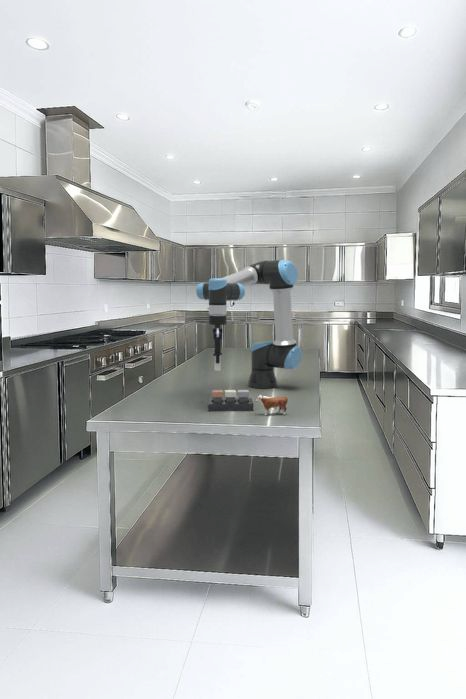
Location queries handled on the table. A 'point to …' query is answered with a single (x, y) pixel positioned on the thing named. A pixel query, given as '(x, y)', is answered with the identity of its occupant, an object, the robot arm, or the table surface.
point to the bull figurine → (272, 403)
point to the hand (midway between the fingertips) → (217, 370)
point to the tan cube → (217, 395)
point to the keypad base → (230, 405)
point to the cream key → (230, 395)
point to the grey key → (243, 395)
